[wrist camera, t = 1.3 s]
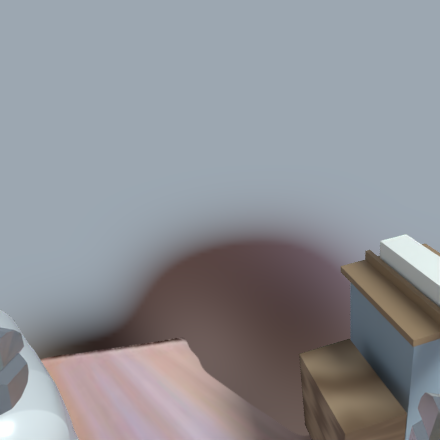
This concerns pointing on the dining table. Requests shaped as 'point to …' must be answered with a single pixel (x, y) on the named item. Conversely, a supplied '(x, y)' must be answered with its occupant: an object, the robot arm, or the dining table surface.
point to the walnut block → (347, 397)
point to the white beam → (413, 264)
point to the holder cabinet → (395, 331)
